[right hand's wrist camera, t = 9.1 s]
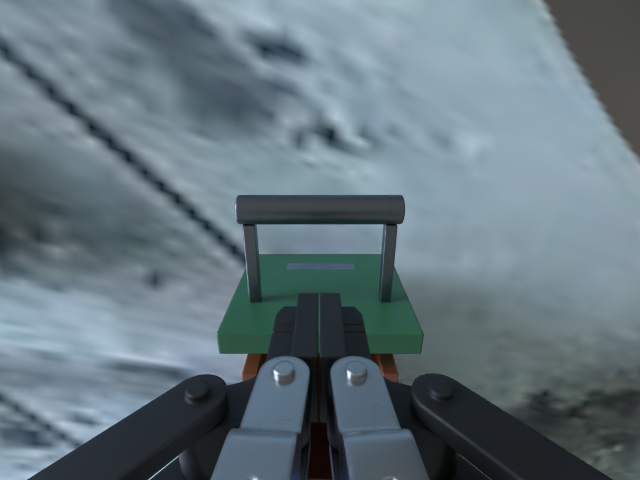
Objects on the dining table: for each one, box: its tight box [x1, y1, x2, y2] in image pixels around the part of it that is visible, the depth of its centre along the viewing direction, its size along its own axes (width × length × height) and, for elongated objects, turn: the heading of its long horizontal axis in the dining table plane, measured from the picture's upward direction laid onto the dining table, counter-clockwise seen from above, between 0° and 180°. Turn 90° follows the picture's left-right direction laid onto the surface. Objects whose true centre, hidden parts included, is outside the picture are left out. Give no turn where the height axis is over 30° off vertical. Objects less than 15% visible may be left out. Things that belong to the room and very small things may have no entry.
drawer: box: [217, 195, 424, 479], centre depth 22 cm, size 22×10×9 cm, turn 0°
